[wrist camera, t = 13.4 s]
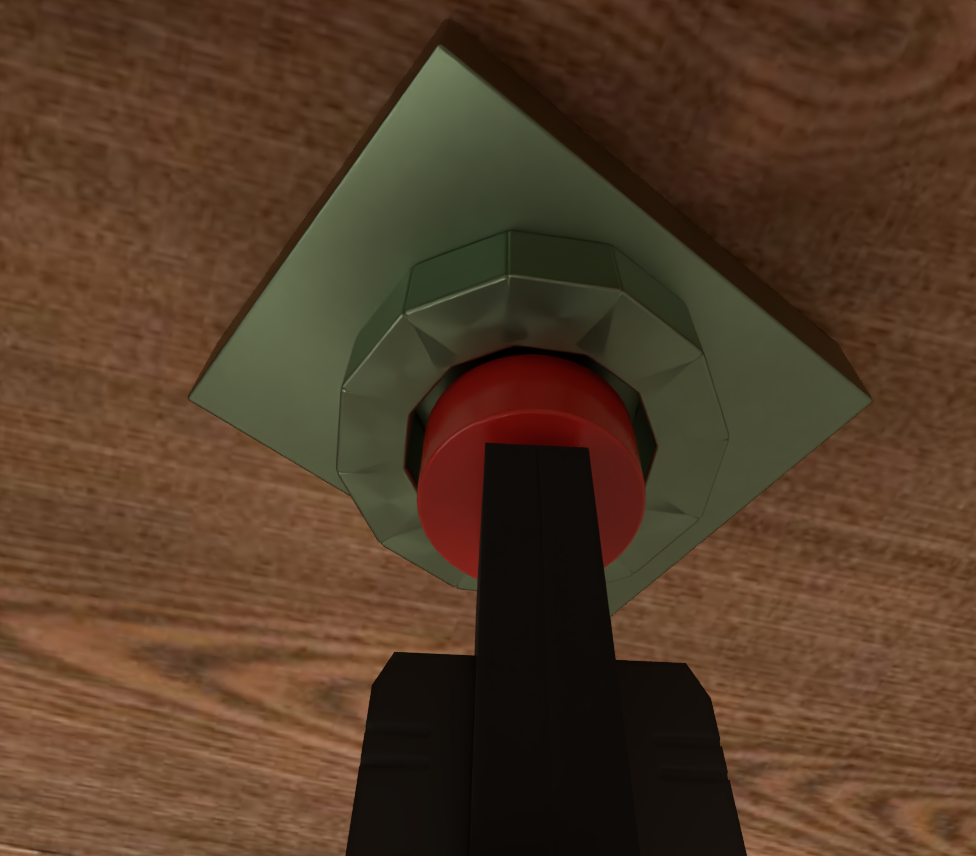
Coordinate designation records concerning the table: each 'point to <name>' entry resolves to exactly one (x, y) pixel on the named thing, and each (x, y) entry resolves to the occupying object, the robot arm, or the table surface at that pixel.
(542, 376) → the button
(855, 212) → the table surface
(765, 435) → the button box
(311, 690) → the table surface
